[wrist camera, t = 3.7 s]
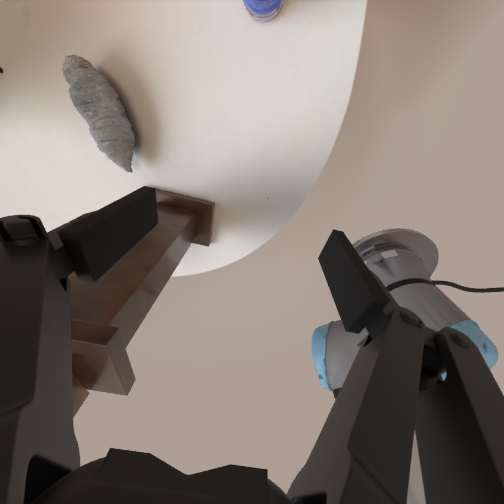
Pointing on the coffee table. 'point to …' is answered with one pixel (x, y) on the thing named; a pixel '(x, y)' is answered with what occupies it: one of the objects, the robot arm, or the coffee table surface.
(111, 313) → the stand
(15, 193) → the coffee table surface
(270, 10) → the pill bottle
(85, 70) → the seashell
